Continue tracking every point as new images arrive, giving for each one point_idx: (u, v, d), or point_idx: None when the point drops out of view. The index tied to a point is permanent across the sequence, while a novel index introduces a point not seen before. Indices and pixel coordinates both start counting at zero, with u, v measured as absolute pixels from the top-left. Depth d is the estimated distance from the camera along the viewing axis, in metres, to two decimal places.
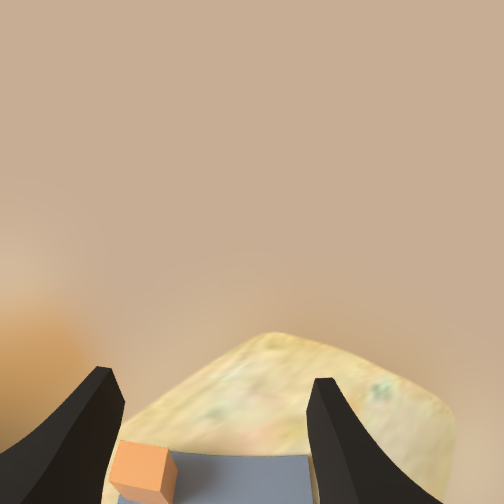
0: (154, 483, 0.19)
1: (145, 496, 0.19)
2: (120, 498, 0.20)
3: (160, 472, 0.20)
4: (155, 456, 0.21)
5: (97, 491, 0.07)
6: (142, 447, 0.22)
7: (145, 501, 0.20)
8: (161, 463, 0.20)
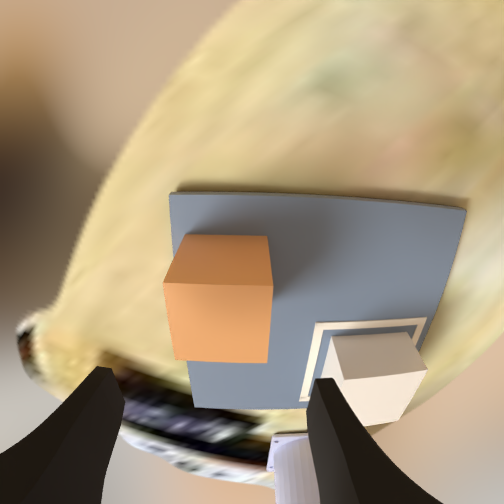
0: (256, 353, 0.14)
1: None
2: None
3: (264, 334, 0.14)
4: (249, 307, 0.13)
5: (97, 491, 0.07)
6: (216, 292, 0.13)
7: None
8: (263, 320, 0.13)
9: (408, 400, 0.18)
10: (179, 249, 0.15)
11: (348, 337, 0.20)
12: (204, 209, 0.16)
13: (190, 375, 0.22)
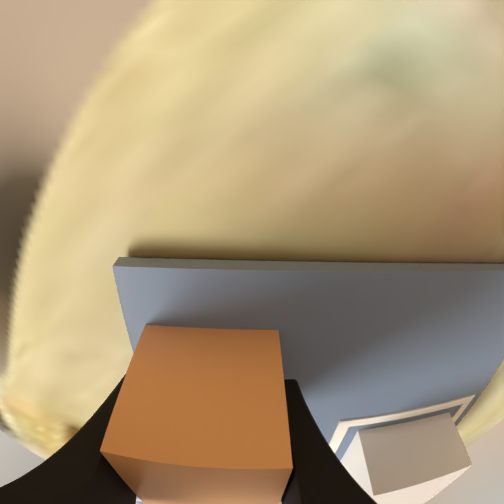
0: None
1: None
2: None
3: (273, 499, 0.07)
4: (249, 484, 0.06)
5: (131, 500, 0.07)
6: (192, 471, 0.06)
7: None
8: (271, 491, 0.06)
9: (441, 489, 0.11)
10: (132, 363, 0.08)
11: (379, 429, 0.13)
12: (172, 290, 0.09)
13: None
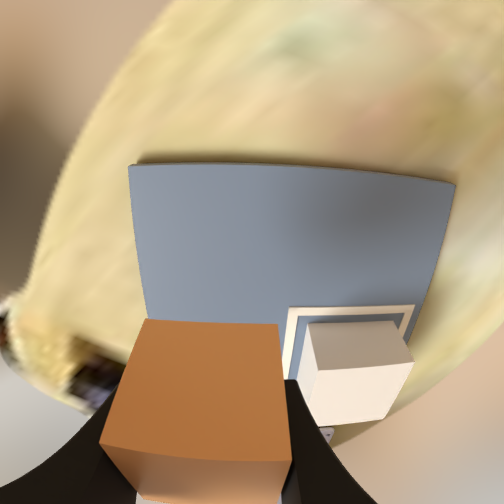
0: None
1: None
2: (144, 281, 0.18)
3: (273, 494, 0.07)
4: (248, 477, 0.06)
5: (131, 500, 0.07)
6: (191, 463, 0.06)
7: None
8: (271, 485, 0.07)
9: (394, 396, 0.17)
10: (132, 357, 0.08)
11: (326, 324, 0.19)
12: (163, 180, 0.15)
13: None
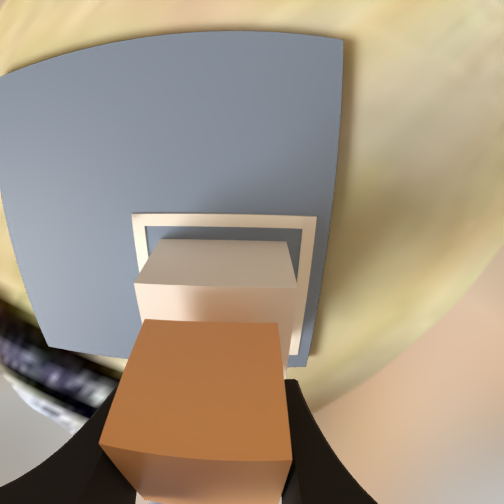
0: None
1: None
2: (3, 194, 0.13)
3: (274, 494, 0.07)
4: (249, 477, 0.06)
5: (131, 500, 0.07)
6: (191, 463, 0.06)
7: None
8: (272, 485, 0.07)
9: (284, 353, 0.13)
10: (132, 357, 0.08)
11: (183, 240, 0.14)
12: (13, 85, 0.11)
13: (29, 297, 0.16)
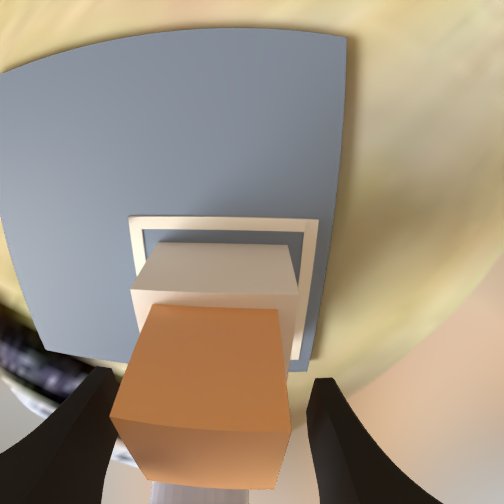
0: (259, 483, 0.08)
1: None
2: None
3: (272, 471, 0.08)
4: (250, 451, 0.07)
5: (97, 491, 0.07)
6: (196, 435, 0.07)
7: None
8: (271, 460, 0.07)
9: (285, 360, 0.12)
10: (141, 338, 0.09)
11: (181, 244, 0.14)
12: (8, 85, 0.10)
13: (26, 300, 0.16)
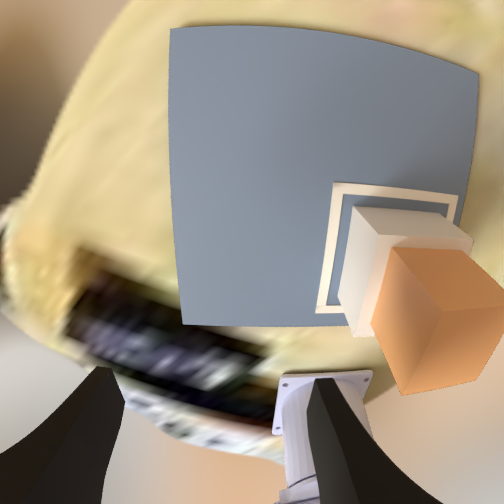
0: (474, 372, 0.11)
1: None
2: (172, 151, 0.15)
3: (490, 352, 0.10)
4: (494, 327, 0.10)
5: (97, 491, 0.07)
6: (481, 315, 0.09)
7: None
8: (497, 338, 0.10)
9: None
10: (409, 266, 0.12)
11: (373, 208, 0.17)
12: (206, 40, 0.13)
13: (178, 268, 0.18)
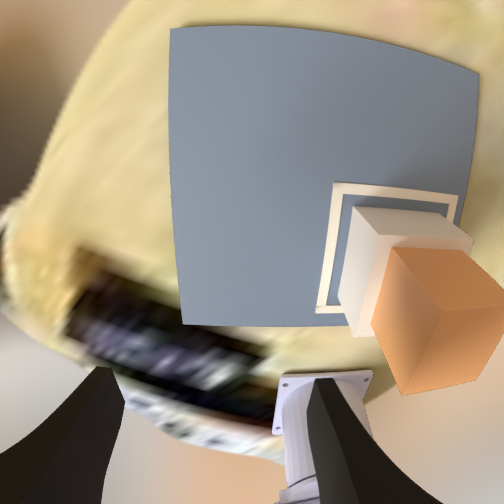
0: (474, 372, 0.11)
1: None
2: (172, 151, 0.15)
3: (490, 352, 0.10)
4: (494, 327, 0.10)
5: (97, 491, 0.07)
6: (481, 315, 0.09)
7: None
8: (497, 338, 0.10)
9: None
10: (409, 266, 0.12)
11: (373, 208, 0.17)
12: (206, 40, 0.13)
13: (178, 268, 0.18)
